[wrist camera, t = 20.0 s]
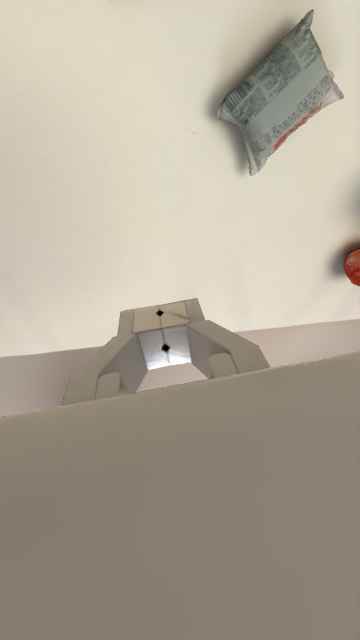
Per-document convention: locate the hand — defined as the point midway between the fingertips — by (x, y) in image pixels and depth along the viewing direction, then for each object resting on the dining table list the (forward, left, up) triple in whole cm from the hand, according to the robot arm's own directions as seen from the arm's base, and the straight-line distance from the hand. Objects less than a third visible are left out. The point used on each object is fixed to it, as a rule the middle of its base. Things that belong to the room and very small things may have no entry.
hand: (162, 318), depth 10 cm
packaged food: (+16, +7, -29) cm, 34 cm away
